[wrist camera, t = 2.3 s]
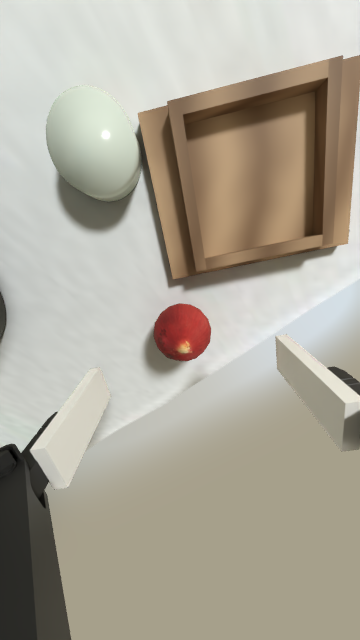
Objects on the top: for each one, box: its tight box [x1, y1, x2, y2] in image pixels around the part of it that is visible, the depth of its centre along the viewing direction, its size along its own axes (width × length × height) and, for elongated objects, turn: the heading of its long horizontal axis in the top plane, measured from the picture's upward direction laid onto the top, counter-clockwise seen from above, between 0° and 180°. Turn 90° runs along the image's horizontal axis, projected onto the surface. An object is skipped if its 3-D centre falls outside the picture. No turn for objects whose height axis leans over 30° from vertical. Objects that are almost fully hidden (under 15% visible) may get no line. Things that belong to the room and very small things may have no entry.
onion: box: [154, 304, 211, 361], centre depth 21 cm, size 6×6×8 cm
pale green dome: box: [46, 85, 142, 202], centre depth 18 cm, size 7×7×3 cm
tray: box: [138, 55, 360, 279], centre depth 19 cm, size 18×14×3 cm
